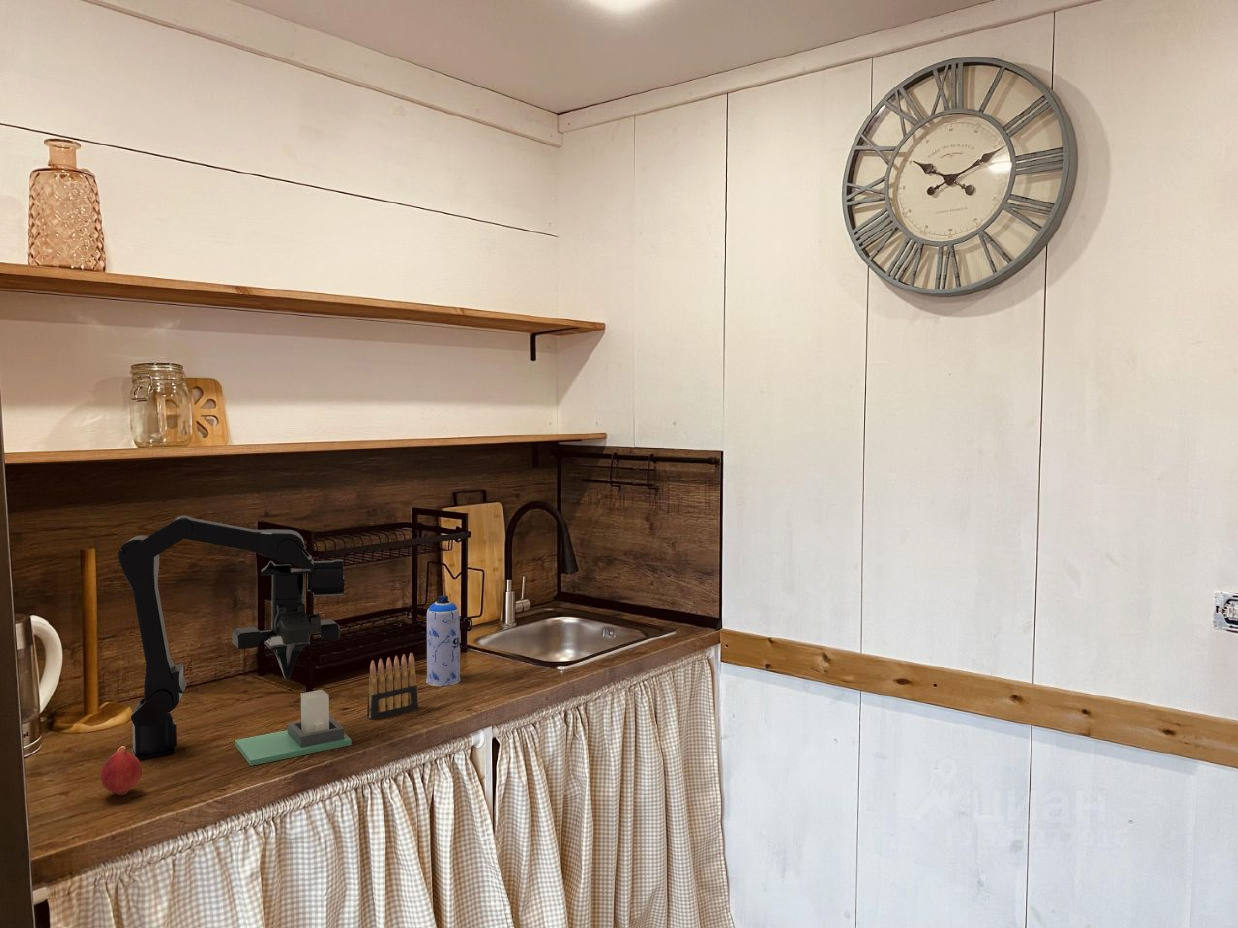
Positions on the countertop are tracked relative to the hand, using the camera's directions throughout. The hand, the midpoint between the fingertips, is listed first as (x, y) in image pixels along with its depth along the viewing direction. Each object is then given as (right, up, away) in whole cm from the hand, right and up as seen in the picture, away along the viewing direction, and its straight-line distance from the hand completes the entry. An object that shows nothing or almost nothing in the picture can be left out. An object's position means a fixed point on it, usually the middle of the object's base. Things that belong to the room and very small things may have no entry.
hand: (286, 677), depth 171 cm
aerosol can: (+23, -10, +37) cm, 45 cm away
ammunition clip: (+16, -11, +15) cm, 25 cm away
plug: (+6, -11, -1) cm, 12 cm away
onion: (-17, -13, -26) cm, 34 cm away
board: (+3, -12, -3) cm, 13 cm away
